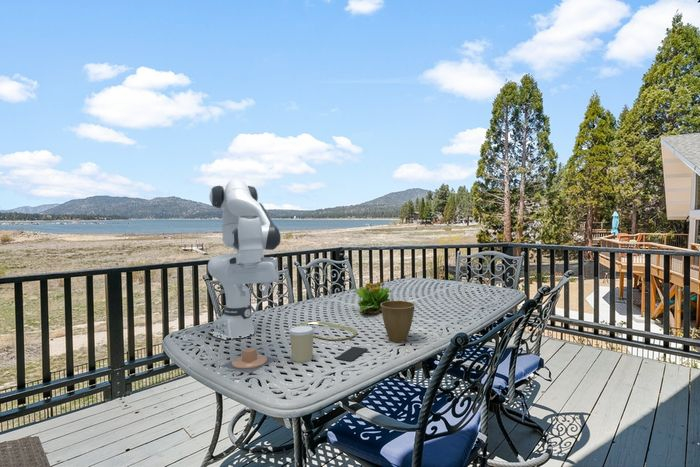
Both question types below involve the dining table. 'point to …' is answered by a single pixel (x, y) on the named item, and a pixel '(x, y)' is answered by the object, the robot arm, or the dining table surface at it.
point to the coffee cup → (301, 343)
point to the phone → (351, 354)
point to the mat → (269, 360)
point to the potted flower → (372, 297)
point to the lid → (249, 359)
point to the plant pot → (397, 319)
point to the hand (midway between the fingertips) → (253, 295)
